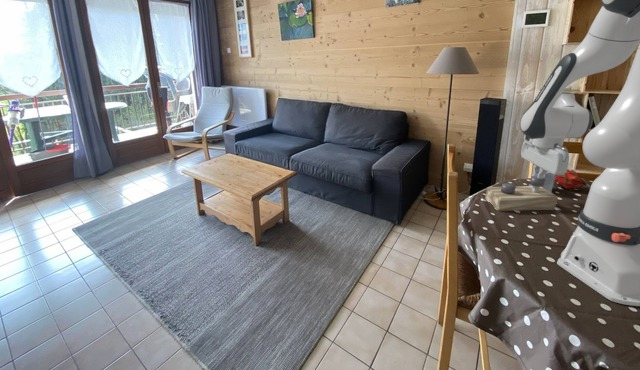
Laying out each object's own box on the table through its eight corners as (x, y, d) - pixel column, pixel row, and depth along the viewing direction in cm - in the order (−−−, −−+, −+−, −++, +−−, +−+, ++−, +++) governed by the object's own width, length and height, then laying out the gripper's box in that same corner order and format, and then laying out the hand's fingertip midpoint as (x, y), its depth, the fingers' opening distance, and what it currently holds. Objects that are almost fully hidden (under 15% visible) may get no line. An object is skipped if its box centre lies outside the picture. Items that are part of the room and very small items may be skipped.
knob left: (514, 205, 117) (518, 187, 114) (502, 205, 117) (506, 187, 114) (507, 200, 121) (511, 183, 118) (496, 200, 121) (499, 183, 118)
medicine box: (551, 193, 127) (556, 172, 124) (539, 193, 127) (545, 173, 124) (539, 185, 134) (544, 166, 131) (528, 186, 135) (533, 166, 131)
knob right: (543, 198, 116) (548, 180, 113) (531, 199, 116) (535, 180, 113) (535, 193, 120) (540, 175, 117) (524, 194, 120) (528, 176, 117)
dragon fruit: (550, 185, 138) (579, 199, 129) (544, 178, 133) (574, 192, 124) (564, 169, 137) (594, 182, 127) (558, 161, 132) (590, 174, 122)
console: (554, 209, 114) (558, 196, 112) (498, 210, 115) (500, 197, 113) (537, 197, 124) (540, 185, 122) (485, 198, 124) (487, 187, 122)
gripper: (579, 148, 100) (567, 189, 106) (538, 133, 119) (530, 168, 124) (559, 149, 100) (547, 189, 106) (521, 133, 119) (513, 168, 125)
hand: (537, 177), depth 115 cm, fingers closed
